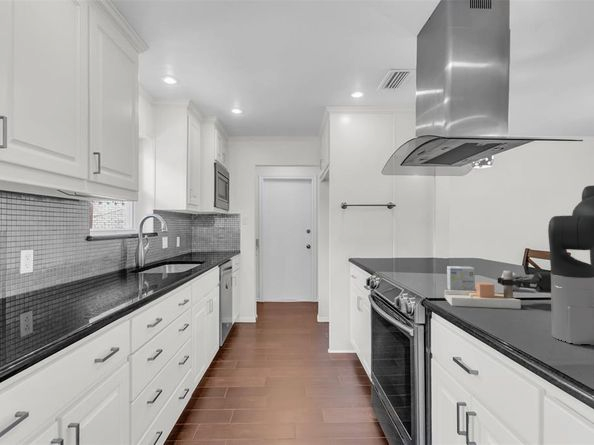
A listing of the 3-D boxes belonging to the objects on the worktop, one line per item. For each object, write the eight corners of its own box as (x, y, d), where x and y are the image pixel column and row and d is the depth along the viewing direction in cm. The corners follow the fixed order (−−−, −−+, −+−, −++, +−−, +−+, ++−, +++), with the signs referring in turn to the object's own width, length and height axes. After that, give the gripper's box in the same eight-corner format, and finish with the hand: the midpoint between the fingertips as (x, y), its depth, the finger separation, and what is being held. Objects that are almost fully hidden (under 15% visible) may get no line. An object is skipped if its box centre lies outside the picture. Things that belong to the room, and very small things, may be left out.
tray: (520, 308, 118) (520, 300, 118) (451, 305, 124) (451, 297, 124) (506, 299, 132) (506, 292, 132) (444, 297, 137) (444, 290, 137)
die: (522, 294, 144) (529, 275, 147) (503, 284, 145) (510, 265, 148) (511, 296, 152) (517, 279, 155) (493, 287, 153) (499, 269, 156)
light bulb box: (471, 288, 154) (470, 265, 154) (475, 291, 147) (475, 268, 147) (446, 288, 156) (446, 265, 156) (450, 291, 149) (449, 267, 149)
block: (494, 297, 124) (494, 284, 124) (480, 297, 126) (479, 284, 126) (490, 295, 129) (490, 282, 129) (476, 294, 130) (476, 282, 130)
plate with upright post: (518, 303, 120) (518, 273, 120) (476, 301, 123) (476, 272, 123) (507, 296, 130) (507, 269, 130) (468, 295, 134) (468, 268, 134)
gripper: (542, 269, 129) (493, 269, 133) (561, 275, 115) (506, 274, 119) (542, 288, 129) (493, 287, 133) (561, 297, 115) (506, 295, 119)
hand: (499, 281), depth 126 cm, fingers closed on plate with upright post, 3 cm apart
